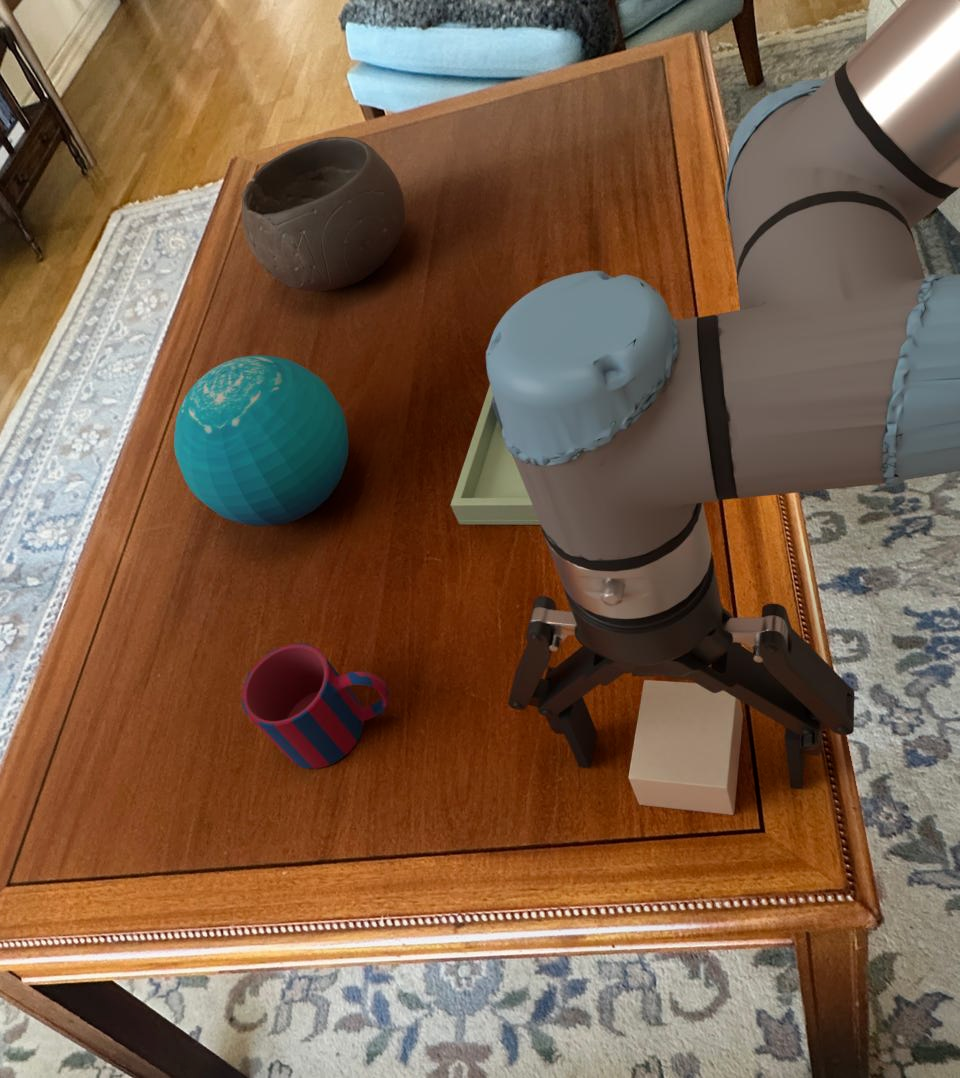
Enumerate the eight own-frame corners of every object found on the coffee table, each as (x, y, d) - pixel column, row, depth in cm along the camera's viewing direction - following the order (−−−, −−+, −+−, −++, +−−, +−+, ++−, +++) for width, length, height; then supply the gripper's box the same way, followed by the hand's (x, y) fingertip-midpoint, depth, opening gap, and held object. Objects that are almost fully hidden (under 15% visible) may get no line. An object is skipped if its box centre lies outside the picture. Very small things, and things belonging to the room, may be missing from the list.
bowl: (254, 285, 118) (202, 193, 109) (372, 205, 122) (331, 110, 113) (323, 340, 107) (271, 242, 97) (451, 250, 110) (413, 148, 101)
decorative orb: (380, 425, 95) (316, 302, 84) (366, 544, 85) (293, 423, 74) (240, 455, 98) (161, 340, 87) (212, 573, 89) (120, 461, 78)
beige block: (653, 709, 67) (643, 679, 64) (743, 715, 65) (737, 685, 62) (638, 805, 63) (627, 778, 60) (734, 815, 61) (727, 788, 58)
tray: (507, 374, 94) (499, 353, 92) (604, 368, 91) (599, 346, 89) (459, 524, 84) (449, 505, 82) (567, 525, 80) (560, 504, 78)
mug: (294, 691, 77) (255, 645, 72) (412, 686, 74) (380, 638, 69) (273, 770, 73) (230, 726, 68) (396, 768, 70) (361, 723, 65)
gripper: (387, 616, 51) (497, 791, 66) (911, 640, 42) (896, 837, 57) (426, 505, 55) (520, 694, 71) (908, 505, 46) (895, 722, 62)
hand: (688, 758), depth 64 cm, fingers open, 13 cm apart
